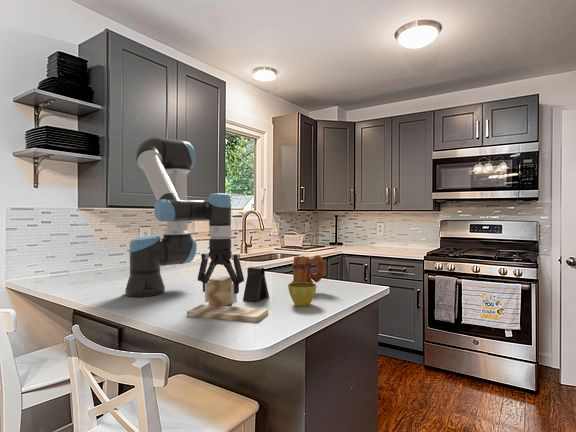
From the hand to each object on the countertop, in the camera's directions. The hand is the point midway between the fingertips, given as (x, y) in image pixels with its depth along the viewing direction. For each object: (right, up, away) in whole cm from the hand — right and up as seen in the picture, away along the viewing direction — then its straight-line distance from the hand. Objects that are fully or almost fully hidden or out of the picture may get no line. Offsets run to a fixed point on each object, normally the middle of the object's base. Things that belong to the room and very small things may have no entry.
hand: (220, 302), depth 124 cm
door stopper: (+11, -2, +11) cm, 16 cm away
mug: (+32, -1, +24) cm, 40 cm away
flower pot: (+29, -2, +2) cm, 29 cm away
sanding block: (0, -2, 0) cm, 2 cm away
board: (+4, -2, -11) cm, 12 cm away
